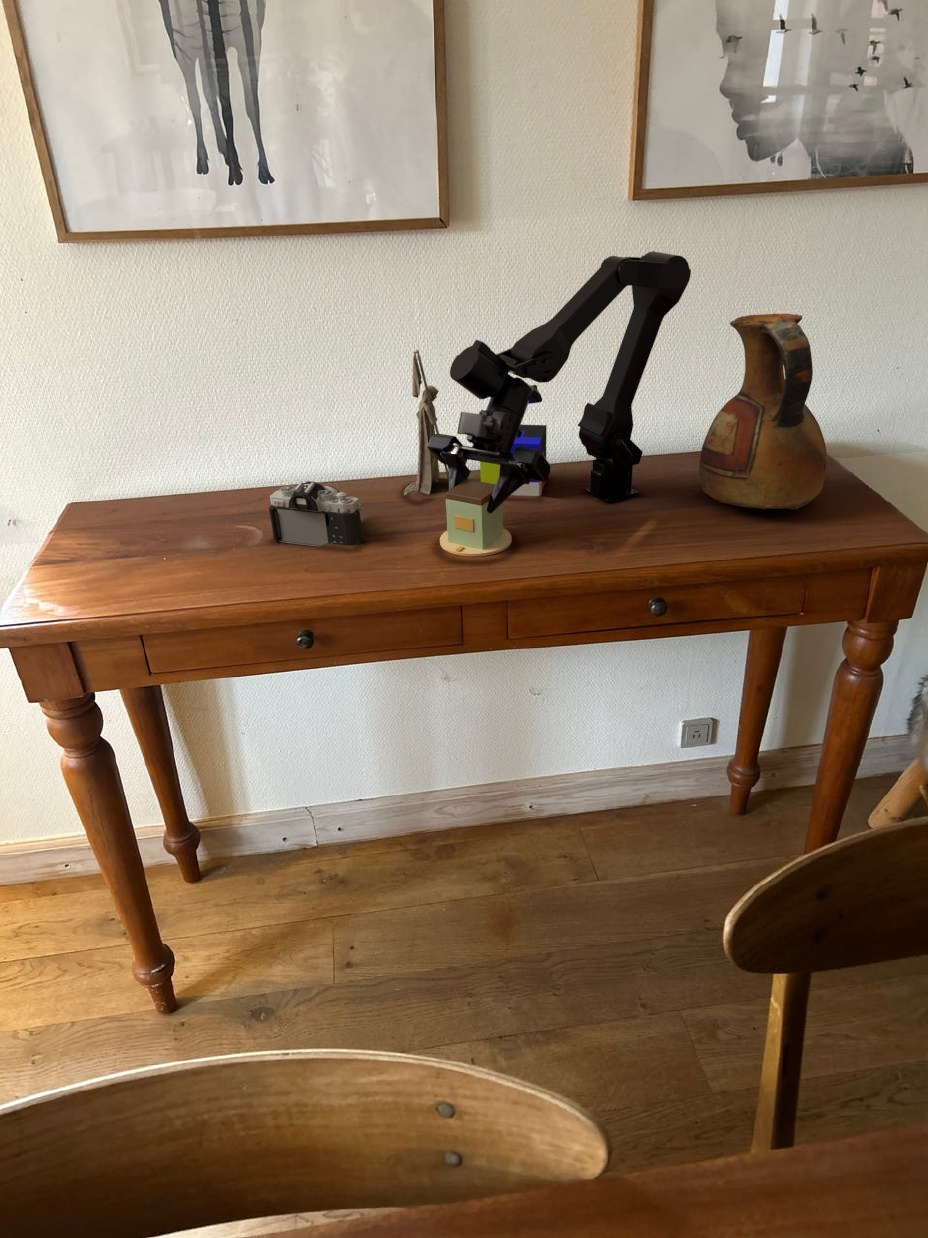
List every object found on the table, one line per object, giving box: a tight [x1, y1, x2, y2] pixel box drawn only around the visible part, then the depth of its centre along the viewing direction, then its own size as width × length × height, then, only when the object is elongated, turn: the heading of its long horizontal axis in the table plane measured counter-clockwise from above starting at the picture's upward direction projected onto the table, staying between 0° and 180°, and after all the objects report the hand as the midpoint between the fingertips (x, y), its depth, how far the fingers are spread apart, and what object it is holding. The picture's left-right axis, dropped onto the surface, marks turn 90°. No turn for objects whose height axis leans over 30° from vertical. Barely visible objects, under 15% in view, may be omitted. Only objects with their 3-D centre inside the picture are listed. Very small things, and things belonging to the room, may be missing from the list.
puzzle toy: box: [479, 424, 547, 497], centre depth 155 cm, size 10×10×10 cm
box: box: [439, 478, 513, 558], centre depth 135 cm, size 11×11×8 cm
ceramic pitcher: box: [698, 313, 828, 510], centre depth 141 cm, size 20×20×30 cm
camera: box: [268, 480, 364, 548], centre depth 140 cm, size 16×9×10 cm, turn 71°
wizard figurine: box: [403, 349, 449, 496], centre depth 152 cm, size 10×8×25 cm
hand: (469, 508), depth 133 cm, fingers closed on box, 6 cm apart
